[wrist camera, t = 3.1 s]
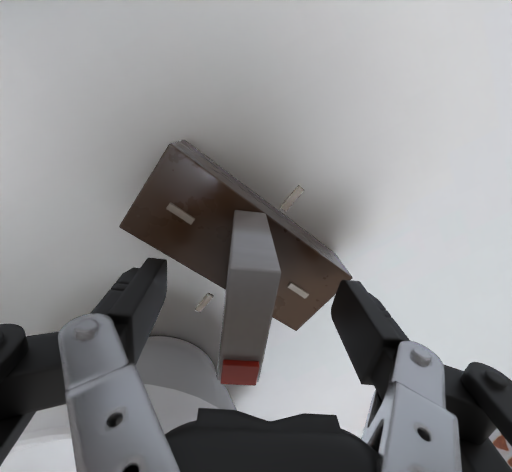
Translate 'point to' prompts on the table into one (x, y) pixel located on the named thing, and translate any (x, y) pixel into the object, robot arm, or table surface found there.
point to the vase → (502, 446)
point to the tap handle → (248, 299)
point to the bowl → (159, 391)
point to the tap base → (229, 231)
